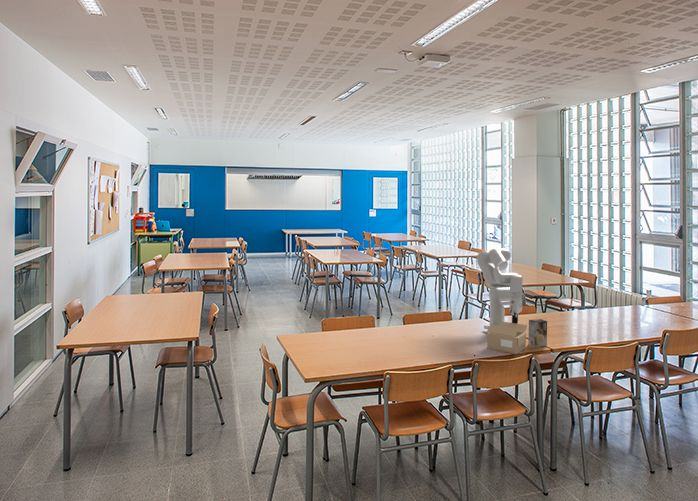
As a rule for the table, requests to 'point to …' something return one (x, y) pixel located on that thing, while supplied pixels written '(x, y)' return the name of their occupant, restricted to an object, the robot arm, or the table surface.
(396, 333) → the table surface
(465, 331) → the table surface
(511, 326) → the far flap
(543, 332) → the coffee box
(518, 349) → the carton
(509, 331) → the near flap
